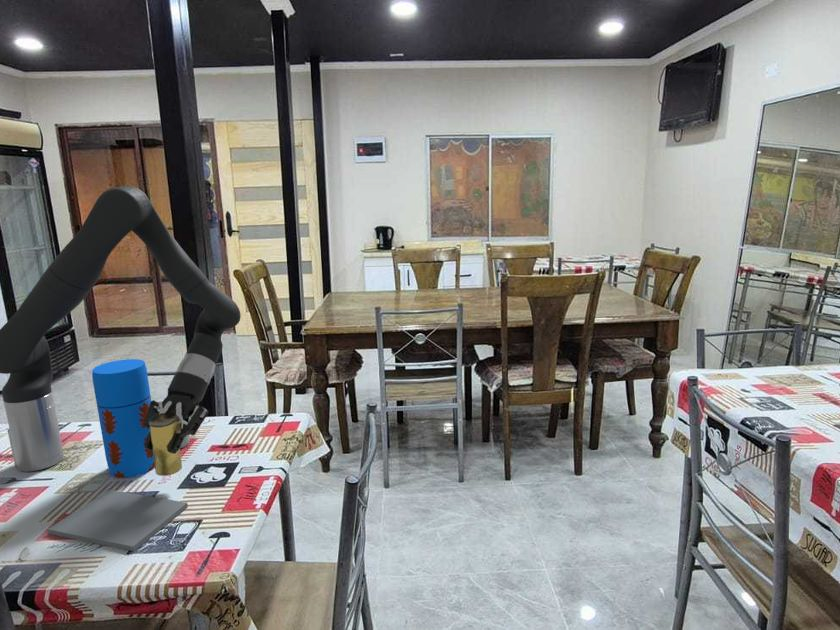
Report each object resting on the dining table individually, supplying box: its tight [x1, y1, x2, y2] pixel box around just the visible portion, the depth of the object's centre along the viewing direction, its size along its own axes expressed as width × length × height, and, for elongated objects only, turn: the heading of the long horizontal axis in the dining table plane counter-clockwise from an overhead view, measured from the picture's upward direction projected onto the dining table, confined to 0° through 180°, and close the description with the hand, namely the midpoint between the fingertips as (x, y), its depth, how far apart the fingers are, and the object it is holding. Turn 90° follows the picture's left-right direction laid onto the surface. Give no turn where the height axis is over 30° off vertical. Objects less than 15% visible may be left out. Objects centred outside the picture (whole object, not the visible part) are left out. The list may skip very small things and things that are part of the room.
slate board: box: [47, 489, 189, 552], centre depth 102 cm, size 20×14×1 cm
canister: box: [148, 413, 183, 477], centre depth 111 cm, size 5×5×12 cm
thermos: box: [91, 358, 155, 479], centre depth 120 cm, size 11×11×25 cm
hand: (159, 450), depth 109 cm, fingers closed on canister, 5 cm apart
